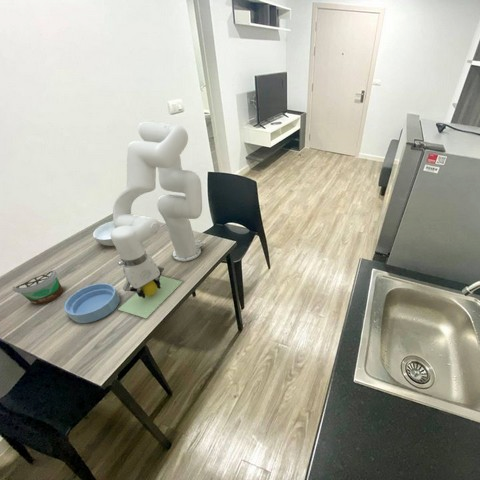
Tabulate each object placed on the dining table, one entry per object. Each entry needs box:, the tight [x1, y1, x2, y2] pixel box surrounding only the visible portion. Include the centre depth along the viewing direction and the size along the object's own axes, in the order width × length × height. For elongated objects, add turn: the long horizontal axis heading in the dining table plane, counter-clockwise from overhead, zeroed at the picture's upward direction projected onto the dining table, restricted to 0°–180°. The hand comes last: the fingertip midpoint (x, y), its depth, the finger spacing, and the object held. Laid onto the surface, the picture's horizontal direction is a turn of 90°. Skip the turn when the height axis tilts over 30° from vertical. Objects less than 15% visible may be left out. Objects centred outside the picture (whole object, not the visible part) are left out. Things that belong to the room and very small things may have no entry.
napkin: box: [117, 275, 183, 319], centre depth 106 cm, size 20×13×1 cm, turn 165°
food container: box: [12, 269, 64, 306], centre depth 99 cm, size 12×6×10 cm, turn 148°
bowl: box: [63, 282, 121, 324], centre depth 99 cm, size 15×15×5 cm
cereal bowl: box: [92, 220, 115, 247], centre depth 130 cm, size 17×17×7 cm
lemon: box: [141, 280, 157, 296], centre depth 104 cm, size 6×6×8 cm
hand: (150, 291), depth 105 cm, fingers closed on lemon, 5 cm apart
